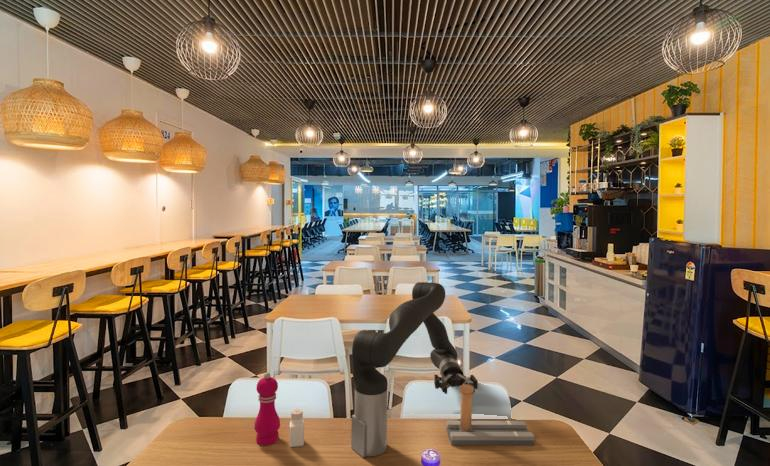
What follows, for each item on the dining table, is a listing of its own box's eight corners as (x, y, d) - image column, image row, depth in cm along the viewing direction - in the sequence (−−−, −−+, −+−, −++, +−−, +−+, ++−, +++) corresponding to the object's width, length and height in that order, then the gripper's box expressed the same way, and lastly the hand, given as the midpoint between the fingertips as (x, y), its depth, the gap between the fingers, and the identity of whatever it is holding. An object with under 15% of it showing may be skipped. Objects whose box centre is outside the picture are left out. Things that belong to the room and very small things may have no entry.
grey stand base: (451, 445, 124) (451, 435, 124) (446, 429, 133) (446, 420, 133) (534, 445, 124) (534, 436, 124) (523, 429, 133) (523, 420, 133)
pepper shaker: (303, 447, 122) (303, 414, 121) (289, 448, 121) (289, 415, 121) (304, 439, 126) (304, 407, 125) (290, 440, 125) (290, 408, 125)
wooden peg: (460, 435, 126) (461, 390, 125) (457, 428, 130) (458, 384, 129) (473, 435, 126) (475, 390, 125) (470, 428, 130) (472, 384, 129)
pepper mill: (285, 439, 126) (285, 372, 124) (263, 449, 120) (262, 379, 119) (271, 430, 131) (271, 366, 129) (249, 439, 125) (249, 372, 124)
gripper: (431, 361, 155) (437, 379, 139) (470, 361, 155) (481, 379, 139) (430, 381, 155) (437, 402, 139) (470, 381, 155) (481, 402, 139)
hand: (459, 391), depth 139 cm, fingers open, 8 cm apart
